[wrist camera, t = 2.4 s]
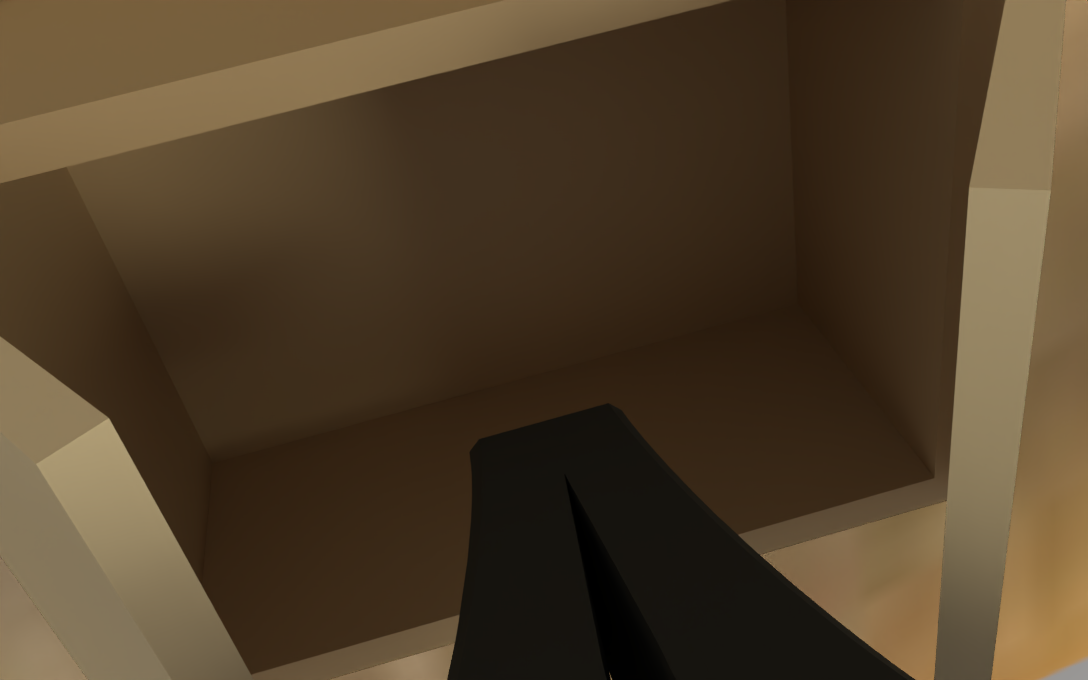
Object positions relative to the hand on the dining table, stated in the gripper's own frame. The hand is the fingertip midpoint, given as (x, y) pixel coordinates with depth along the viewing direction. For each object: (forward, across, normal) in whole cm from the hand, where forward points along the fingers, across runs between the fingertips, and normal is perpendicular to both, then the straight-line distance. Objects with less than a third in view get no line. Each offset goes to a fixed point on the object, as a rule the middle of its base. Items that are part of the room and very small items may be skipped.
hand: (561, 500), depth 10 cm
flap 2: (0, -4, 0) cm, 4 cm away
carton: (+7, 0, 0) cm, 7 cm away
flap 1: (0, +4, 0) cm, 4 cm away
